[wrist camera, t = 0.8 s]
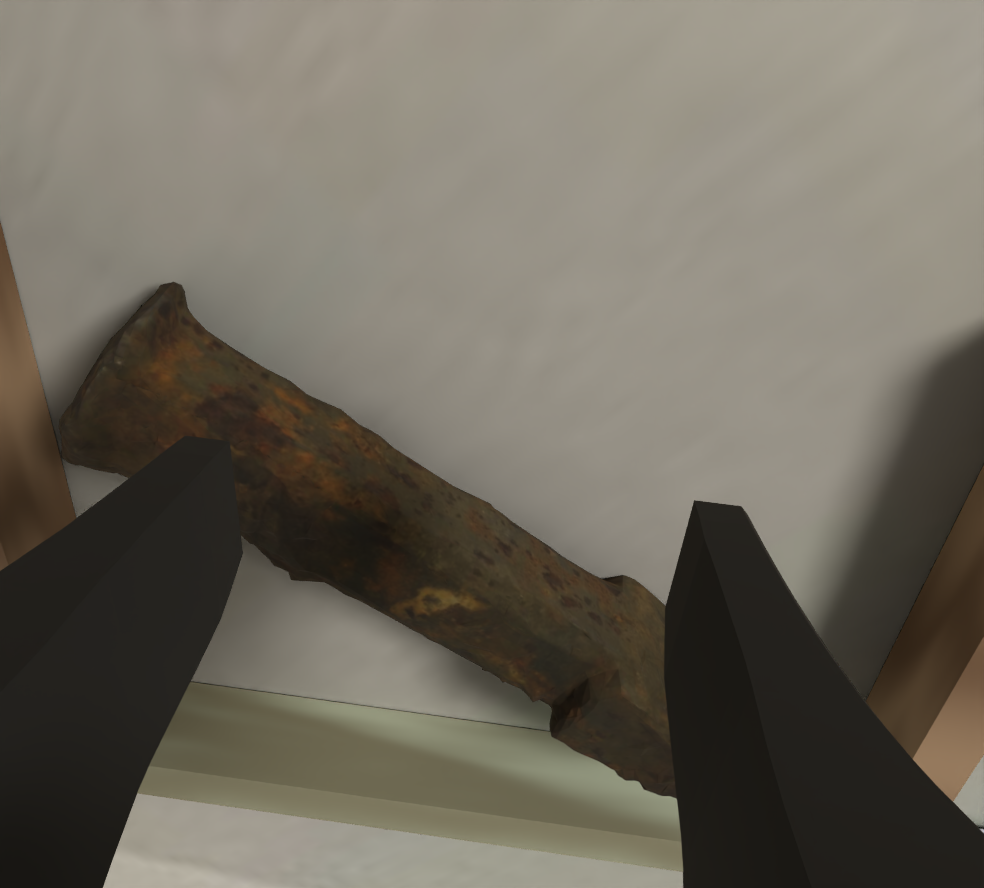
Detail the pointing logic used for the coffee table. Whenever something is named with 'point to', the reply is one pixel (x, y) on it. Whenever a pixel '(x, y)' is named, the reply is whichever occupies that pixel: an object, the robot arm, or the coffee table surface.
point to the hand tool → (387, 533)
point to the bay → (462, 743)
